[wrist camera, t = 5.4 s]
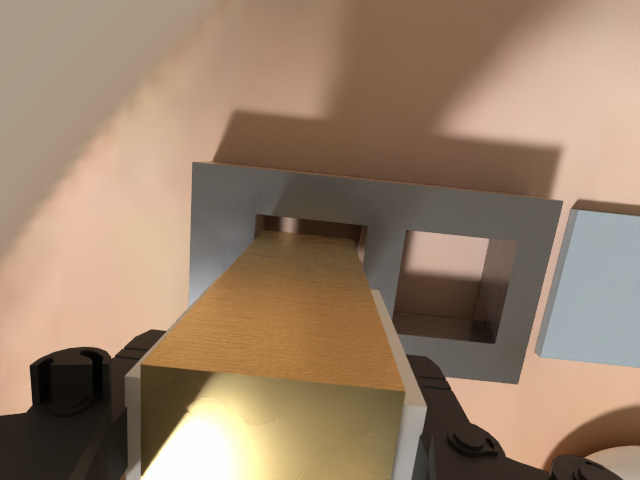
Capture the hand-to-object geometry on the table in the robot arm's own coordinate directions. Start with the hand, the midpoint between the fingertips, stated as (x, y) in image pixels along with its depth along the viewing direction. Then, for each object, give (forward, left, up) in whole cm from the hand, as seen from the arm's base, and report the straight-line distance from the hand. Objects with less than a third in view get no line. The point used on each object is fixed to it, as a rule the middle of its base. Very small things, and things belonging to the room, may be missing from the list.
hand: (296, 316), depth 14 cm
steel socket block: (+3, 0, -8) cm, 9 cm away
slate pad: (+19, 0, -8) cm, 21 cm away
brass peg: (0, 0, -5) cm, 5 cm away
